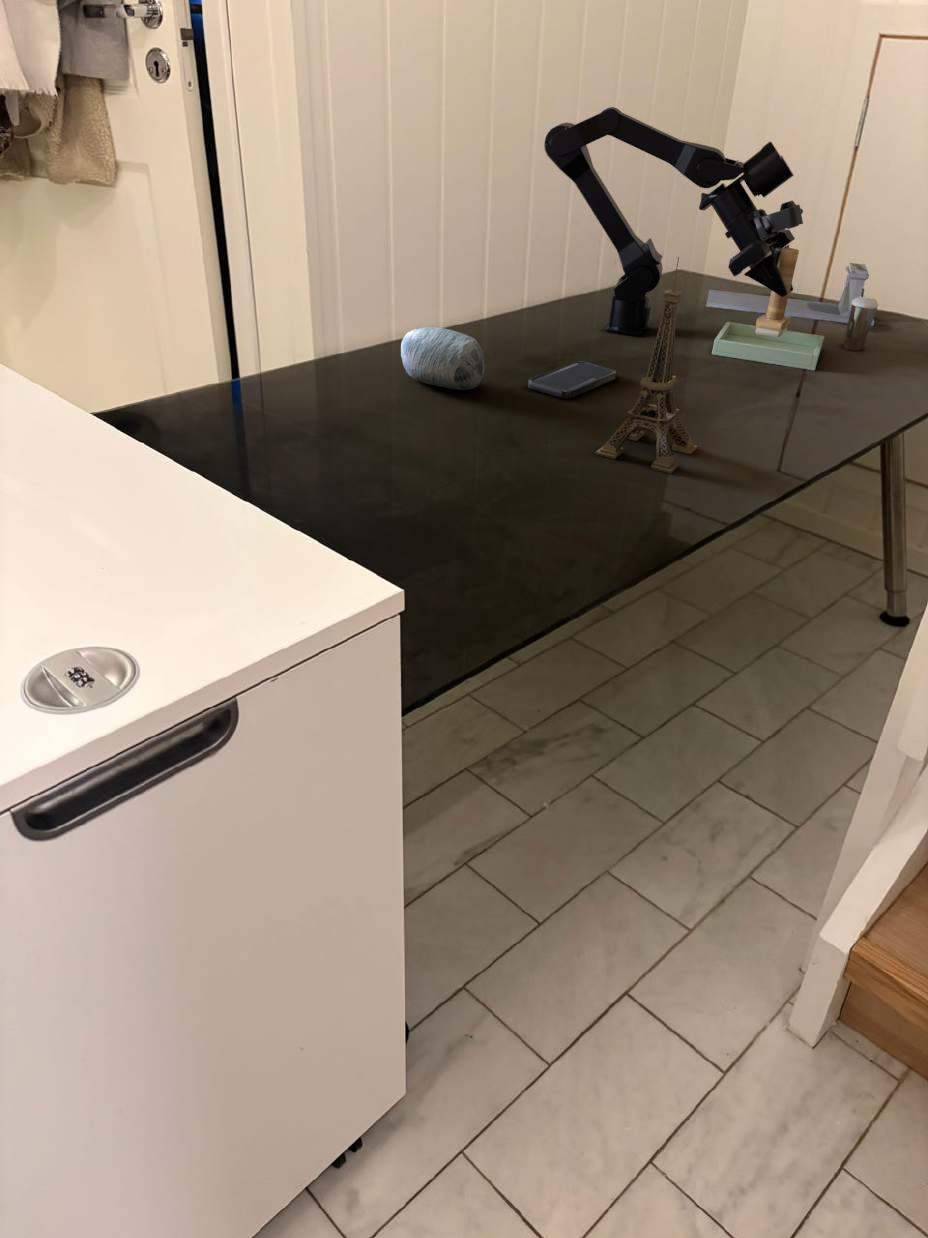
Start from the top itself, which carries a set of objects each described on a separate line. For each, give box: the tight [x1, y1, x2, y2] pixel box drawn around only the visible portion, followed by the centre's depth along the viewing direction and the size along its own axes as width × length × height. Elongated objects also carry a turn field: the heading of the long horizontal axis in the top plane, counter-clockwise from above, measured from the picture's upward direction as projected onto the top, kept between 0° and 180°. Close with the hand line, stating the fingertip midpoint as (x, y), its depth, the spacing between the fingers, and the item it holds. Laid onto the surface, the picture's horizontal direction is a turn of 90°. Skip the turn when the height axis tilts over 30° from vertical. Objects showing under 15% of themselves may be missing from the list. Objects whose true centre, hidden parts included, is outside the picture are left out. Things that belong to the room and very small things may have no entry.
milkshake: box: [843, 288, 879, 352], centre depth 173 cm, size 4×5×10 cm
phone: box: [527, 360, 617, 400], centre depth 150 cm, size 8×1×15 cm
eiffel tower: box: [594, 256, 699, 475], centre depth 121 cm, size 11×11×25 cm
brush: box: [755, 247, 800, 338], centre depth 165 cm, size 6×4×14 cm
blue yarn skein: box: [400, 326, 486, 391], centre depth 145 cm, size 14×10×10 cm
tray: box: [711, 321, 825, 371], centre depth 169 cm, size 18×14×3 cm
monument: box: [705, 262, 875, 327], centre depth 195 cm, size 12×33×10 cm, turn 75°
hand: (788, 293), depth 164 cm, fingers closed on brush, 3 cm apart
